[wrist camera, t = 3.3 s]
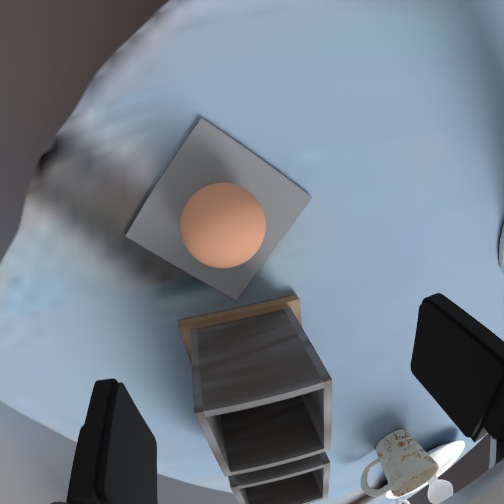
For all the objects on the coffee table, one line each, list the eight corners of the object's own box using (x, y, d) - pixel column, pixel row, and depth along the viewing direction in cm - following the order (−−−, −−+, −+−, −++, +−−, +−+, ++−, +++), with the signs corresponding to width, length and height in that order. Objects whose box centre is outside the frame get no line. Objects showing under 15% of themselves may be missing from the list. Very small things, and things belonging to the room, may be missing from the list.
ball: (209, 162, 24) (215, 170, 18) (271, 205, 26) (293, 224, 21) (166, 226, 25) (160, 252, 20) (228, 264, 27) (239, 297, 22)
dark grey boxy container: (178, 320, 29) (178, 409, 18) (295, 294, 30) (344, 369, 20) (227, 452, 37) (240, 521, 27) (307, 432, 38) (335, 497, 28)
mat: (201, 118, 23) (201, 118, 23) (310, 196, 27) (312, 197, 26) (126, 234, 25) (125, 236, 25) (235, 298, 29) (236, 300, 28)
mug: (417, 430, 45) (444, 468, 36) (363, 471, 47) (383, 510, 37) (401, 419, 42) (431, 462, 33) (340, 464, 44) (362, 509, 34)
